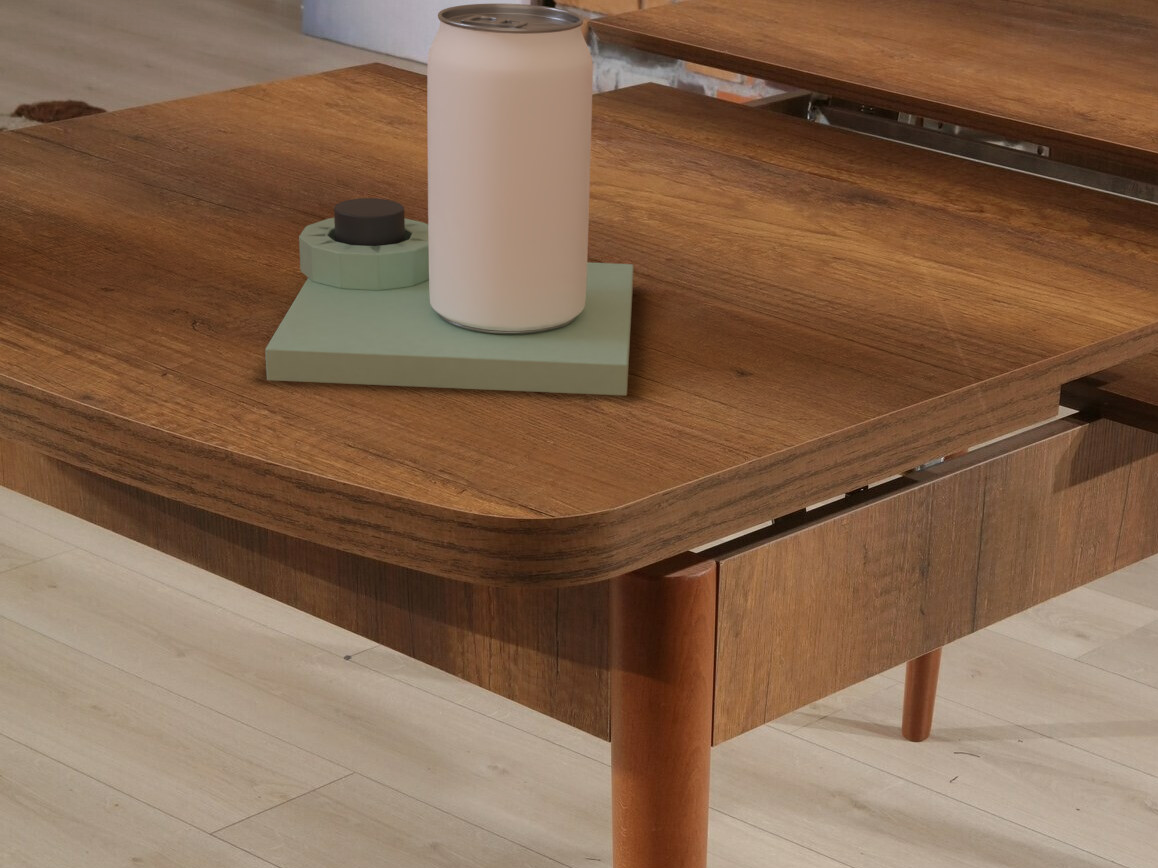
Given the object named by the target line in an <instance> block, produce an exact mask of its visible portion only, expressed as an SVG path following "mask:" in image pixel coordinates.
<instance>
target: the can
mask: <svg viewBox="0 0 1158 868" xmlns="http://www.w3.org/2000/svg"><path fill="white" fill-rule="evenodd" d="M437 18H438V20H439V27H438V30H437V31H436V35H435V37H434V38H433V41H432V43H431V45H430V48H429V49H428V53H427V67H426V69H427V71H426V73H427V74H426V75H427V76H426V77H427V78H426V80H427V81H426V84H427V85H426V87H427V89H426V90H427V91H426V99H427V101H426V102H427V103H426V105H427V108H426V111H427V112H426V114H427V115H426V117H427V118H426V119H427V121H426V122H427V123H426V124H427V125H426V126H427V127H426V128H427V130H426V131H427V224H428V242H429V295H430V304H431V306H432V308H433V309H434V310H435V311H436V312H437V313H438V315H439V316H440V317H441V318H442V319H443V320H444V321H446V322H447V323H449V324H451V325H454V326H456V327H459V328H463V329H466V330H471V331H475V332H481V333H489V334H503V335H520V334H533V333H541V332H547V331H551V330H555V329H559V328H562V327H565V326H567V325H569V324H570V323H572V322H573V321H574V320H575V319H576V317H577V315H578V314H580V313H581V312H582V310H583V309H584V307H585V300H586V281H587V262H588V249H589V220H590V193H591V191H590V188H591V186H590V185H591V156H592V155H591V153H592V123H593V122H592V120H593V118H592V117H593V116H592V115H593V78H594V77H593V73H594V72H593V66H594V65H593V58H592V54H591V51H590V48H589V47H588V44H587V41H586V39H585V37H584V35H583V31H582V25H583V24H584V17H583V16H582V15H580V14H578V13H577V12H574V11H570V10H567V9H564V8H557V7H552V6H545V5H544V6H543V5H536V4H523V3H473V4H471V3H470V4H462V5H456V6H455V5H454V6H451V7H447V8H444V9H441V10H440V11H439V12H438V13H437Z"/></svg>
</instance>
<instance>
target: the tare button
mask: <svg viewBox="0 0 1158 868" xmlns="http://www.w3.org/2000/svg"><path fill="white" fill-rule="evenodd" d="M333 213H334V214H333V215H334V216H333V218H334V220H335V241H336V242H340V243H344V244H349V245H359V246H381V245H390V244H398V243H401V242H403V241H405V217H406V216H405V215H406V214H405V207H404V205H403V204H401V203H399V202H398V201H395V200H391V199H386V198H375V197H374V198H373V197H372V198H371V197H366V198H364V197H363V198H362V197H361V198H353V199H348V200H344V201H341V202H339V203H337V204H335V206H334V207H333Z"/></svg>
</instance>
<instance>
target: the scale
mask: <svg viewBox="0 0 1158 868" xmlns="http://www.w3.org/2000/svg"><path fill="white" fill-rule="evenodd" d="M298 245H299V247H298V248H299V269H300V270H299V271H300V272H301V273H302V274H303V275H304V276H305V277H307V278H306V280H305V282H304V284H303V285H302V287H301V288H300V291H299V292H298V293H297V296H296V297H295V299H294V300H293V302H292V304H291V305H290V307H289V309H288V310H287V312H286V314H285V315H284V317H283V318H282V320H281V322H280V324H279V325H278V327H277V329H276V330H275V332H274V334H273V336H272V337H271V338H270V340H269V342H268V344H267V345H266V347H265V351H264V352H265V370H266V380H267V381H277V382H299V383H321V384H323V383H325V384H347V385H366V386H367V385H369V386H371V385H372V386H392V387H393V386H395V387H413V388H415V387H418V388H420V387H421V388H437V389H440V388H441V389H442V388H443V389H464V390H487V391H507V392H509V391H510V392H511V391H512V392H535V393H557V394H580V395H603V396H605V395H606V396H625V397H626V396H627V395H628V385H629V384H628V381H629V365H630V363H629V362H630V345H631V327H632V312H633V311H632V310H633V309H632V308H633V290H634V267H635V266H634V264H632V263H612V262H588V261H587V281H586V300H585V307H584V309H583V310H582V312H581V313H580V314H578V315H577V317H576V319H575V320H574V321H573V322H572V323H570V324H569V325H567V326H565V327H562V328H559V329H555V330H551V331H547V332H541V333H533V334H520V335H503V334H489V333H481V332H475V331H471V330H466V329H463V328H459V327H456V326H454V325H451V324H449V323H447V322H446V321H444V320H443V319H442V318H441V317H440V316H439V315H438V313H437V312H436V311H435V310H434V309H433V308H432V306H431V304H430V295H429V242H428V223H426V222H423V221H419V220H414V219H410V218H405V241H403V242H401V243H398V244H390V245H381V246H359V245H349V244H344V243H340V242H336V241H335V220H334V217H330V218H325V219H323V220H320V221H317V222H314V223H311V224H307V225H306V226H304V228H303V230H302V231H301V233H300V234H299V236H298Z"/></svg>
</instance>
